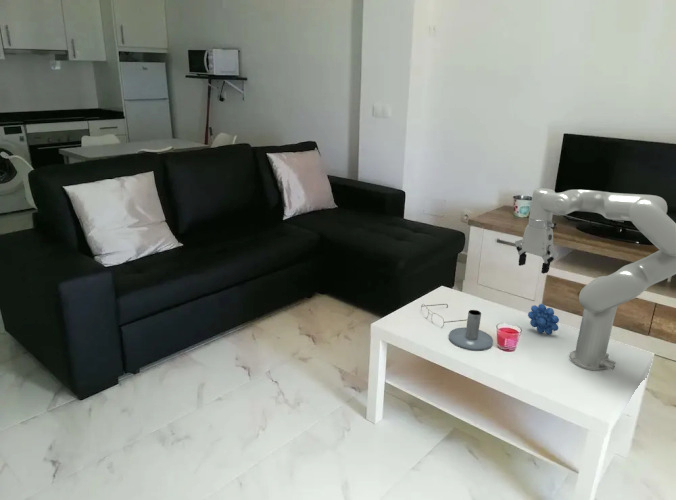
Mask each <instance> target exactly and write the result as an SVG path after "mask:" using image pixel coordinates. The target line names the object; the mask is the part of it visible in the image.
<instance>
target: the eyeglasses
mask: <svg viewBox="0 0 676 500" xmlns="http://www.w3.org/2000/svg"><path fill="white" fill-rule="evenodd" d="M420 306H421V307H420V310H422V308H423V307H424V306H425V308H426V309H427V310H428V314H427V316H426V318H428V317H429V316H430V315H431V314H432V315H433V314H434V315H437V316H439V317H441V318H442V316H441V315H439V314H438V313H435V312H433V311H431V310H430V309H429V308H428V307H432V306H433V307H434V306H435V307H436V304H429V305H428V304H427V305H425V304H424V303H423V304H421V305H420ZM437 306H446V308H448V307H449V305H448V303H439V304H437ZM442 320H443V325H442V326H441V327H440V328H441V329H442V328H443V327H444V326H445V323H453V322H454V323H455V322H465V321H467V320H468V318H467V319H459V320H458V319H457V320H450V321H449V320H448V321H445V320H444V318H442ZM431 323H432V324H434V322H433V316H431Z"/></svg>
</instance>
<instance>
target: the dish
mask: <svg viewBox="0 0 676 500" xmlns="http://www.w3.org/2000/svg"><path fill="white" fill-rule="evenodd" d="M465 335H466V327H465V326H464V327H456V328H454V329H452V330H450V332H449V334H448V339H449V341H450V343H451V344H452V345H454V346H456V347H458V348H460V349H462V350H467V351H473V352H481V351H486V350H489V349H491V348H492V346H493V344H494V339H493V337H492V336H491V335H490V334H489V333H487V332H486V331H483V330H481V329H479V333H478V339H477V340H469V339H467V338H466V337H465Z"/></svg>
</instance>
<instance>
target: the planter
mask: <svg viewBox="0 0 676 500" xmlns="http://www.w3.org/2000/svg"><path fill="white" fill-rule="evenodd" d="M481 317H482V312H481V311H479V310H477V309H470V310H468V313H467V319H468V320H467V319H466V321H467V322H466V327H465V328H466V335H465V337H466V338H467V339H469V340H477V339H478V333H479V330H480V326H481Z"/></svg>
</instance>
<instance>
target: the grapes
mask: <svg viewBox="0 0 676 500" xmlns="http://www.w3.org/2000/svg"><path fill="white" fill-rule="evenodd" d="M530 310H531V311H528V313H527V316H528V318H529V319H530V321H529V325H530V326H532V328H536V331H537V332H538V334H544V333H545V334H546V335H548V336H550V335H552V334H553V332H554V331H558V330H559V325H558V323H559V321H560V319H559V316H557V315H556V314H555V310H554V309H553V308H552V307H547V306H546V304H543V303H539V304H538V306H537V305H532V306H531V307H530Z"/></svg>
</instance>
